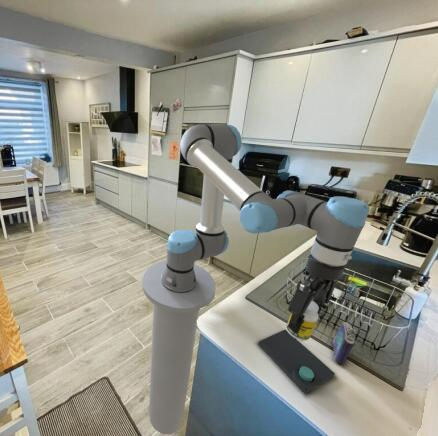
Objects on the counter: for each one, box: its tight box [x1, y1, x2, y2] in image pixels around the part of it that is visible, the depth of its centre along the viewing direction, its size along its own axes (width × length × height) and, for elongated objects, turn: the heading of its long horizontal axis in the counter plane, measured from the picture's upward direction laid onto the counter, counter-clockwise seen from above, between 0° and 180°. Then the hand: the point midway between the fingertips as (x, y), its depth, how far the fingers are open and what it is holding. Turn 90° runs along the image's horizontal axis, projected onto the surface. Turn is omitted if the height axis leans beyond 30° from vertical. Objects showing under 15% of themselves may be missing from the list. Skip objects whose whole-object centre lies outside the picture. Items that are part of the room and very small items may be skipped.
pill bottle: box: [285, 300, 320, 342], centre depth 68 cm, size 6×6×11 cm
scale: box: [257, 328, 336, 395], centre depth 71 cm, size 16×13×3 cm
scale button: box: [299, 366, 314, 382], centre depth 65 cm, size 3×3×2 cm
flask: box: [332, 321, 357, 366], centre depth 72 cm, size 9×3×11 cm, turn 148°
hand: (301, 325), depth 69 cm, fingers closed on pill bottle, 6 cm apart
